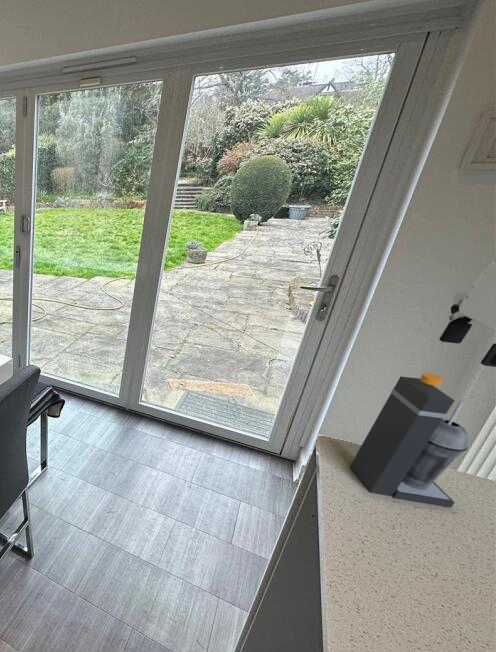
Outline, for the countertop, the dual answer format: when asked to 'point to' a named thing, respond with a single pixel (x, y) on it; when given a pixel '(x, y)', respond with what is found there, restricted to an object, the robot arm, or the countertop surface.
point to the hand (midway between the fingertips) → (469, 353)
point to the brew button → (431, 379)
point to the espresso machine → (402, 442)
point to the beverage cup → (438, 453)
